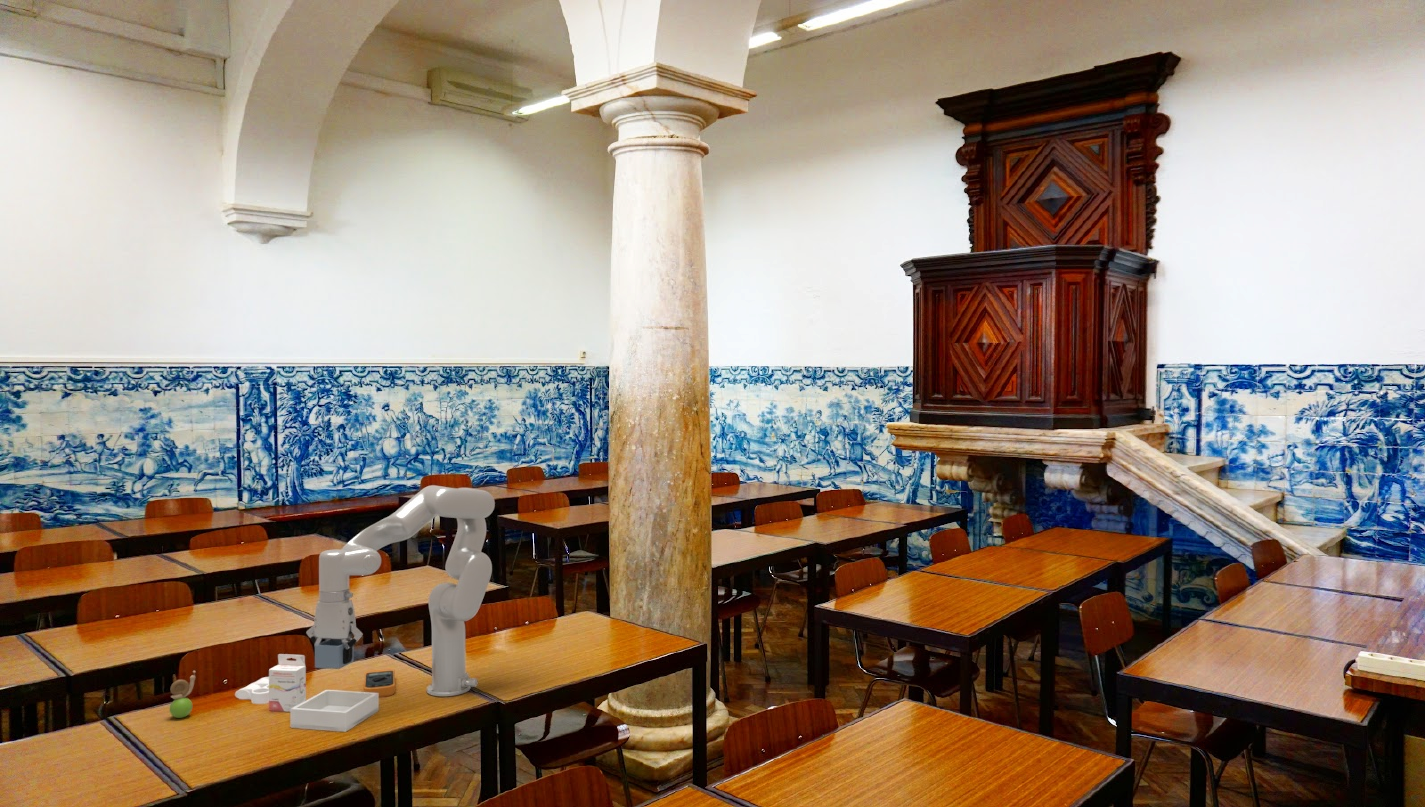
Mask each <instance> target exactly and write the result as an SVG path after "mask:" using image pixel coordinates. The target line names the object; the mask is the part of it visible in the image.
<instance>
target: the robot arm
mask: <svg viewBox="0 0 1425 807" xmlns="http://www.w3.org/2000/svg"><path fill="white" fill-rule="evenodd" d="M495 504H496V502H495V498H494V496H493V495H492V494H491V493H490V492H489V491H488V490H484V489H477V488H473V487H458V488H456V487H449V486H447V487H446V486H441V485H435V484H432V485H428V486H426V487H423V488H422V489H421V490H419V491H418V492H417V493H416V494H415V495H413V496H412V497H411V498H410V499H409V500H407V502H405V503H404V504H403V505H401V506H400V507H399V508H398V509H397V510H396V511H395V512H393V513H391V514H390V515H389V516H387V517H384V518H383V519H380V520H379V521H377V522H375V523H373V524H371V525H369V526H368V527H366V528H365V529H362V530H361V531H360V532H359V533H358V534H356V535H355V536H353V537H352V538H351V539H350V540H349V541H348V542H347V543H345V545H343V547H342V548H341V549H338V548H337V549H328V550H323V551H322V552H320V553H319V556H318V587H319V589H318V592H319V593H318V596H319V597H318V601H317V602H316V606H315V612H314V620H313V621H314V623H313V625H312V626H311V627H309V629H307V630H306V633H305V634H306V635H307V636H308V638H310V641H311V642H312V644H313V645H314V647H315V645H317V644H319V643H321V642H323V641H326V640H328V639H339V640H342V643H343V645H344V647H345V649H343V664H347V663H349V662H351V661H352V647H353V646H354V647H355V645H356V644H357V643H358V642H359V640H360V639H361V638H362V637H363V632H362V631H361V630H360V629H359V628H358V627H357V623H356V612H355V607H354V603H353V600H352V599H350V598H353V597H354V593H353V592H351V590H350V576H368V575H372V574H374V573H376V571H378V570H379V569H380V567H381V564H382V557H381V554H380V553H379V552H378V550H380V549H382V548H384V547H385V546H388V545H390V544H393V543H399V542H403V541H406V540H408V539H411V538H413V536H414V535H416V534H417V533H418V532H419V531H421V530H422V529H423V528H424V527H426V525H427V524H429V523H430V522H431V521H432V520H433V519H434V518H436V517H437V516H438V517H443V518H452V519H453V518H454V519H456V521H457V530H456V531H457V532H456V534H455V537H454V541H453V544H452V545H451V548H450V551H449V554H448V556H447V559H446V561H445V566H444V567H445V572H446V574H447V575H448V576H449V577H450V578H452V579H454V580H456V581H457V584H456V583H452V582H442V583H439V584H437V585H436V586H434V587H433V588H432V590H431V591H430V593H429V594H428V595H429V596H428V601H427V602H428V610H429V615H430V623H431V675H432V676H431V683H430V684H429V685H427V687H426V693H427V694H429V695H431V696H433V697H453V696H459V695H463V694H465V693H468V692H469V691H470V690H471V687H472V688H477V687H478V684H479V682H478V678H475V677H472V678H471V677H470V674H469V672H466V624H465V622H467V621H469V620H472V618H474V617H475V616H476V614H477V613H478V611H479V609H480V608H481V606H482V605H481V604H482V602H483V599H484V597H485V594H486V591H487V589H488V587H489V586H488V585H489V582H490V580H491V576H492V572H493V564H492V561H491V559H490V557H489V556H488V555H487V554H486V553H484V552H482V549H483V548H484V547H483V546H484V543H485V539H486V536H487V522H486V519H485V518H488V517H489V516H490V515H491V514H492V513H493V511H494V510H495V506H496V505H495ZM352 636H354V637H353V638H352Z"/></svg>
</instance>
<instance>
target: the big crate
mask: <svg viewBox="0 0 1425 807" xmlns="http://www.w3.org/2000/svg"><path fill="white" fill-rule="evenodd" d="M379 698H380V697H379V693H371V692H364V691H351V690H339V689H338V690H337V689H325V690H323V691H321V692H320V693H318V694H316V695H314V696H311V697H309V698H308V699H306V701H304V702H302V703H301V704H299V705H297V706H295V707H293V708H291V709H290V720H289V721H290V728H291V729H301V730H315V731H316V730H317V731H328V732H329V731H330V732H344V733H346V732H347V731H350V730H351V729H353V728H354V727H356V726H357V725H359V724H360V723H362V722H364V721H365V720H367V719H368V718H370V717H372V716H373V715H374V714H377V712H379V707H380V706H379V704H380V703H379V702H380V700H379Z"/></svg>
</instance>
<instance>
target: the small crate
mask: <svg viewBox="0 0 1425 807" xmlns="http://www.w3.org/2000/svg"><path fill="white" fill-rule="evenodd" d="M354 647H355V645H354V646H353V647H352V661H351V662H349V663H347V664H343V649H345V647H344V645H343V643H342V640H339V639H326V641H323V642H321V643H319V644H317V645H315V646H314V668H315V669H330V670H340V669H342V668H344V667H346V666H348V665H349V664H352V663H354V659H355V658H354V654H355V653H354Z"/></svg>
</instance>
